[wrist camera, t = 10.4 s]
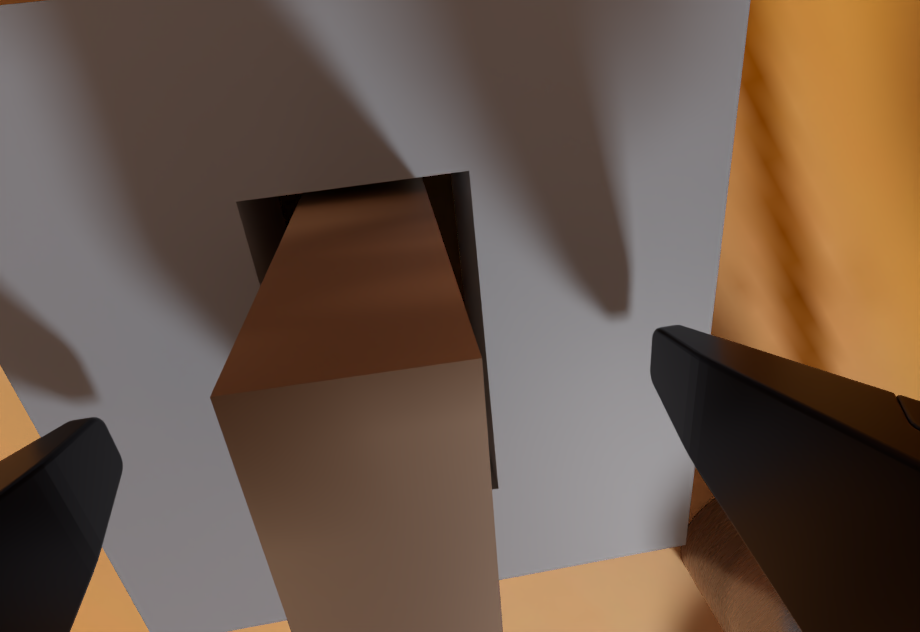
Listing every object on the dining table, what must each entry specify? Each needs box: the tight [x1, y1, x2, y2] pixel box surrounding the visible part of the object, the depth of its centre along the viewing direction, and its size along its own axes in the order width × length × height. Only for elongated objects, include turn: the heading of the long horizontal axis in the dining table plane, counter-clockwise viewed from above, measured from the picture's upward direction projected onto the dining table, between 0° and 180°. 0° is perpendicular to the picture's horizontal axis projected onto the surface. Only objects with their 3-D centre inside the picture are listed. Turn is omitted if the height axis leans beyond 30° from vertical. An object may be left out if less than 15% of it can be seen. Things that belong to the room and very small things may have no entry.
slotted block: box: [0, 0, 750, 632], centre depth 11 cm, size 12×12×3 cm
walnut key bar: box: [210, 177, 503, 632], centre depth 9 cm, size 2×5×8 cm, turn 4°
